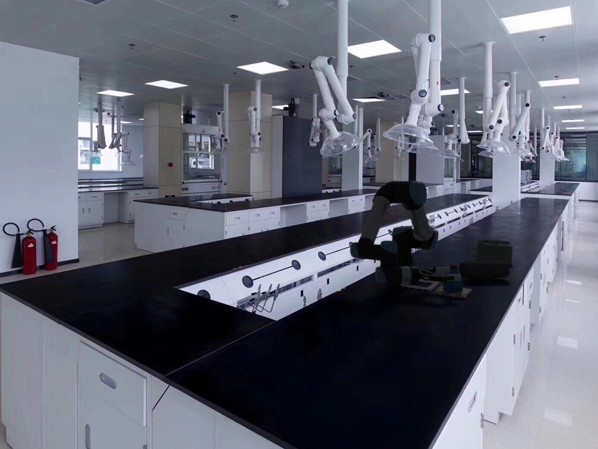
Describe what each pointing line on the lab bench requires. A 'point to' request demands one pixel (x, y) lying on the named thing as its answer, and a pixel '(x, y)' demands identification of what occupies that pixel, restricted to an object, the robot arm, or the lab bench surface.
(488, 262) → the bluetooth speaker
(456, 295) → the beige square cloth
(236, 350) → the lab bench surface
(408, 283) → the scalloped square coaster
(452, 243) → the lab bench surface
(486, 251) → the geiger counter
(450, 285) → the perfume bottle
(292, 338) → the lab bench surface
